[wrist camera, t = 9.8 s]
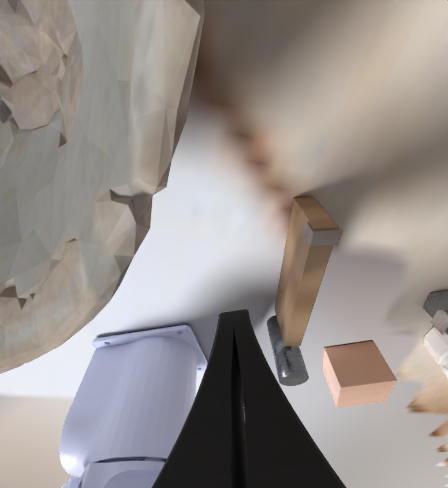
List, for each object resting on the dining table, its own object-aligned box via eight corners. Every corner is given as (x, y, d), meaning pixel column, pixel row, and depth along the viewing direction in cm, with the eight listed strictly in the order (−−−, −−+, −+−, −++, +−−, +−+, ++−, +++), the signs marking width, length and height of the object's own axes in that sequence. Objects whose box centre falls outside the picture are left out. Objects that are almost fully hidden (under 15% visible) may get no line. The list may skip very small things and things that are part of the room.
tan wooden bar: (289, 307, 20) (302, 348, 17) (273, 308, 20) (283, 349, 17) (315, 196, 14) (343, 229, 11) (292, 197, 14) (313, 230, 11)
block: (322, 368, 27) (336, 407, 24) (324, 346, 24) (340, 387, 21) (365, 362, 27) (385, 401, 24) (372, 339, 24) (397, 380, 21)
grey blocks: (267, 330, 22) (279, 387, 18) (265, 316, 21) (278, 374, 17) (445, 304, 21) (502, 360, 17) (455, 288, 19) (519, 343, 15)
